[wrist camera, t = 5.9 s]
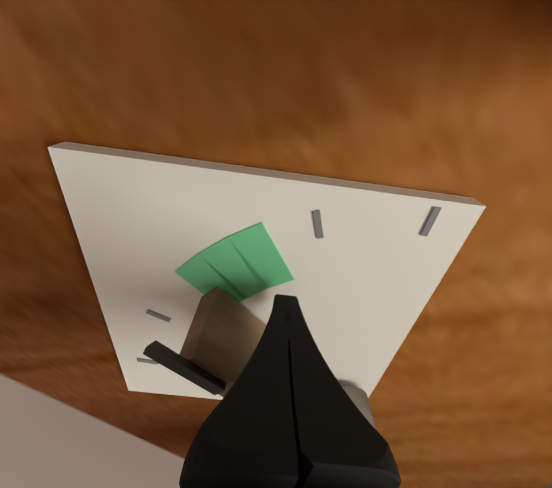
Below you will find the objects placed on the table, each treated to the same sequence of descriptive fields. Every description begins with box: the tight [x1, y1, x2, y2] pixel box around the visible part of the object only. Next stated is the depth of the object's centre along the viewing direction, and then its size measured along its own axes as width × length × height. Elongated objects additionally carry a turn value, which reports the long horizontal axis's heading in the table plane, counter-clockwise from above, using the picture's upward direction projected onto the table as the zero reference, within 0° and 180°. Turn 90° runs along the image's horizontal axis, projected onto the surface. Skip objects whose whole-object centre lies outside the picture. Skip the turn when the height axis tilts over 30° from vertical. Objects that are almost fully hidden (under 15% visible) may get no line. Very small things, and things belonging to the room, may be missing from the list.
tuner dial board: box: [48, 142, 486, 400], centre depth 16 cm, size 18×18×1 cm
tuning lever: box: [143, 286, 376, 429], centre depth 14 cm, size 16×3×5 cm, turn 40°
